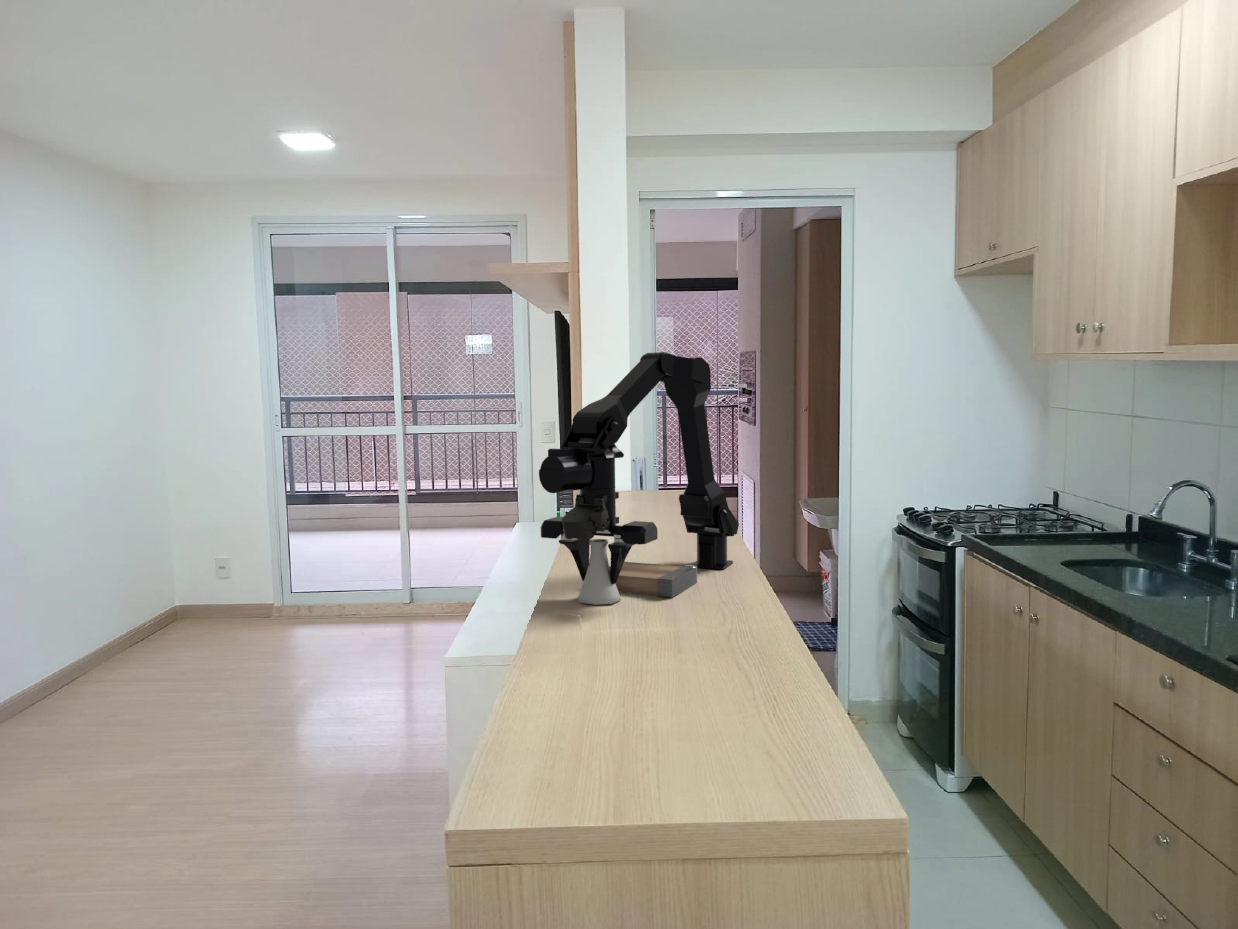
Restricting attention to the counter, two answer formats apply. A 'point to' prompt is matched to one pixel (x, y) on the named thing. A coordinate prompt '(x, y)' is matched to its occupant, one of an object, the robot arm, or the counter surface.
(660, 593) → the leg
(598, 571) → the flask
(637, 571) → the tan square panel
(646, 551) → the counter surface
